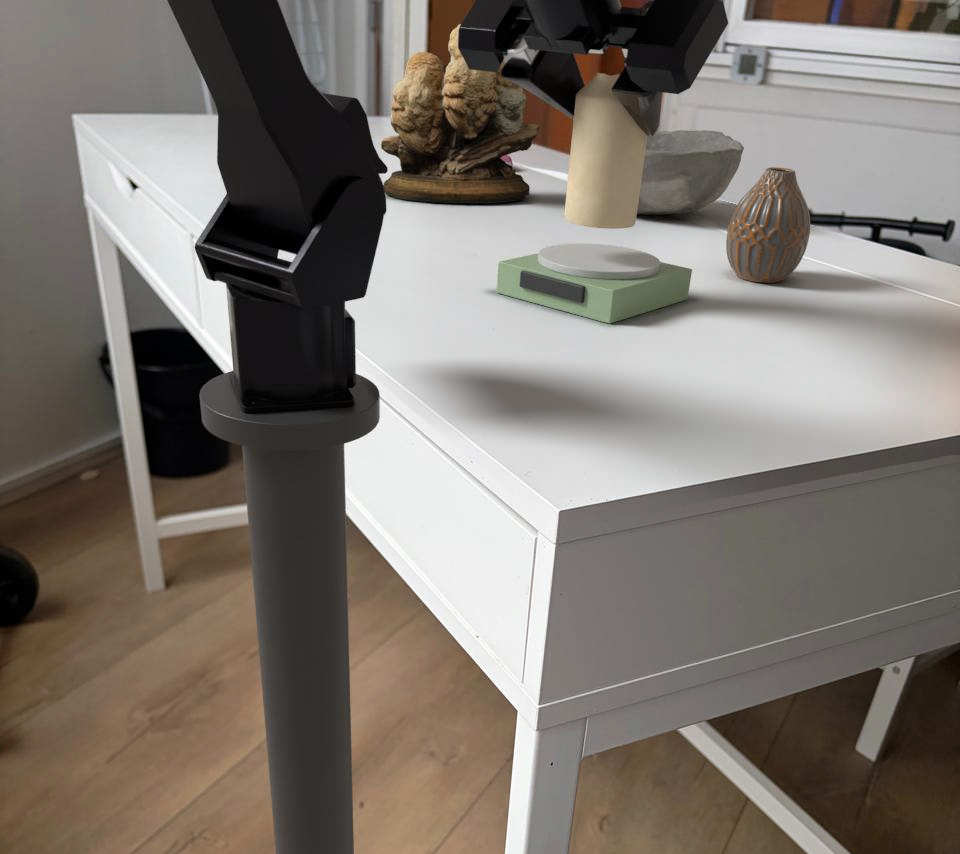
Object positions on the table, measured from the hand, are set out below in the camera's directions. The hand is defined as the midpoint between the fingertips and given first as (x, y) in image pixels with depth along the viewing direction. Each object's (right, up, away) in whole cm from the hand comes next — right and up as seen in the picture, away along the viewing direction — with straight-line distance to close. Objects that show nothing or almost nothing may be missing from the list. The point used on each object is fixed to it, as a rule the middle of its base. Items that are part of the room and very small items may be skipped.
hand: (621, 126), depth 74 cm
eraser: (-10, +26, +62) cm, 68 cm away
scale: (-1, -11, +6) cm, 12 cm away
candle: (-1, -6, +3) cm, 7 cm away
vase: (+14, -6, +14) cm, 21 cm away
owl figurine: (-13, +13, +41) cm, 45 cm away
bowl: (+9, +10, +38) cm, 40 cm away
